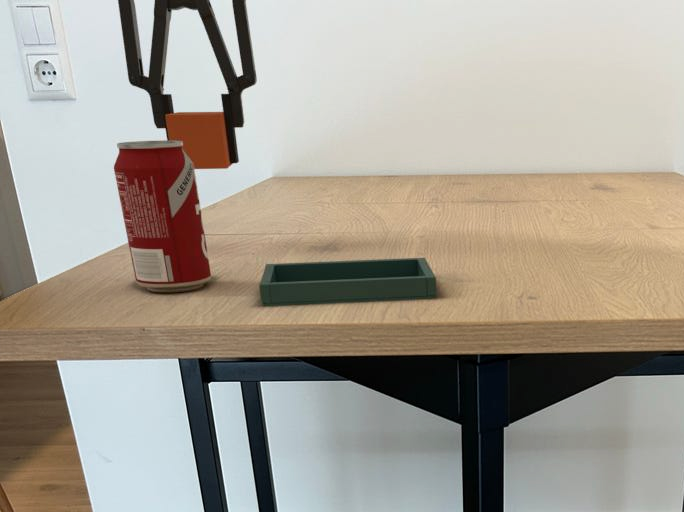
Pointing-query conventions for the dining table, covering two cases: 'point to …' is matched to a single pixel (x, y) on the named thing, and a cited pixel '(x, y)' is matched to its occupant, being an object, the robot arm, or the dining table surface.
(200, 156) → the orange rectangular block
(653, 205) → the dining table surface
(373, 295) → the dark green tray
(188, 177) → the soda can
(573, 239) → the dining table surface
